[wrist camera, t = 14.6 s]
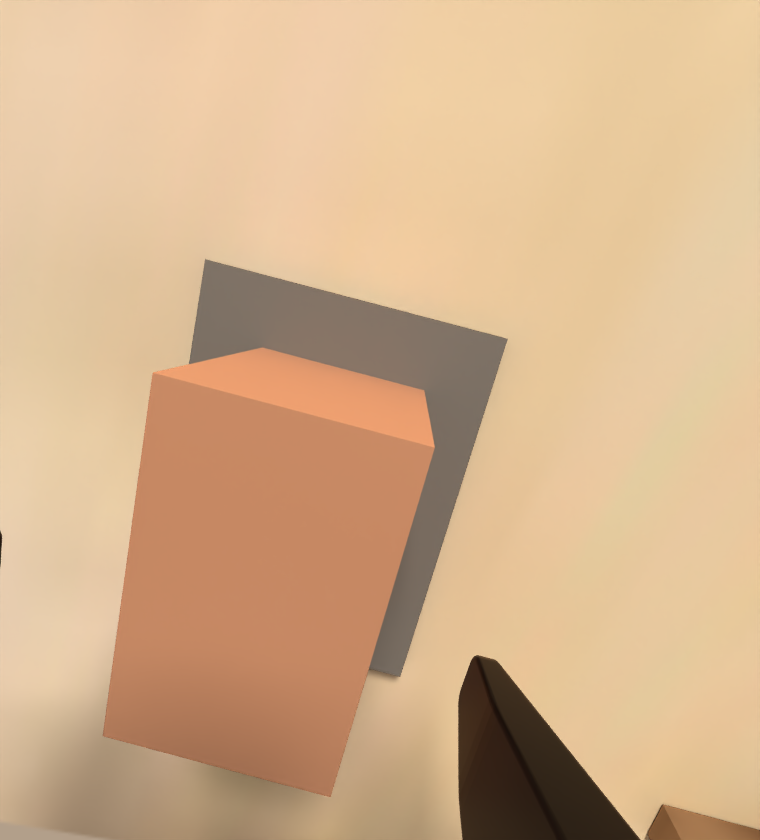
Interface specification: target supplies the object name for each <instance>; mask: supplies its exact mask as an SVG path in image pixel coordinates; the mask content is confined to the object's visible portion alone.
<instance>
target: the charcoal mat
mask: <svg viewBox="0 0 760 840" xmlns="http://www.w3.org/2000/svg"><path fill="white" fill-rule="evenodd" d="M506 342H507V339H506V338H502V337H498V336H494V335H491V334H487V333H483V332H479V331H475V330H472V329H468V328H464V327H460V326H456V325H453V324H449V323H445V322H441V321H437V320H434V319H430V318H426V317H422V316H418V315H415V314H411V313H407V312H403V311H399V310H396V309H392V308H388V307H384V306H380V305H377V304H373V303H369V302H365V301H361V300H358V299H354V298H350V297H346V296H342V295H339V294H335V293H331V292H327V291H323V290H320V289H316V288H312V287H308V286H304V285H300V284H297V283H293V282H289V281H285V280H281V279H278V278H274V277H270V276H266V275H262V274H259V273H255V272H251V271H247V270H243V269H240V268H236V267H232V266H228V265H224V264H221V263H217V262H213V261H209V260H205V264H204V271H203V277H202V284H201V290H200V297H199V303H198V309H197V316H196V322H195V329H194V335H193V342H192V348H191V355H190V361H189V364H193V363H197V362H201V361H206V360H210V359H214V358H219V357H223V356H227V355H232V354H236V353H240V352H245V351H249V350H253V349H258V348H266V349H270V350H274V351H277V352H281V353H285V354H289V355H293V356H296V357H300V358H304V359H308V360H311V361H315V362H319V363H323V364H327V365H330V366H334V367H338V368H342V369H345V370H349V371H353V372H357V373H360V374H364V375H368V376H372V377H376V378H379V379H383V380H387V381H391V382H394V383H398V384H402V385H406V386H410V387H413V388H417V389H421V390H424V392H425V397H426V403H427V408H428V413H429V419H430V424H431V430H432V435H433V440H434V446H435V449H434V452H433V455H432V459H431V462H430V465H429V469H428V472H427V475H426V479H425V482H424V485H423V489H422V492H421V496H420V499H419V502H418V506H417V509H416V512H415V516H414V519H413V522H412V526H411V529H410V532H409V536H408V539H407V542H406V546H405V549H404V552H403V556H402V559H401V562H400V566H399V569H398V573H397V576H396V579H395V583H394V586H393V589H392V593H391V596H390V599H389V603H388V606H387V609H386V613H385V616H384V619H383V623H382V626H381V629H380V633H379V636H378V639H377V643H376V646H375V650H374V653H373V656H372V660H371V663H370V666H369V669H373V670H376V671H380V672H384V673H388V674H391V675H395V676H399V677H400V675H401V672H402V669H403V666H404V663H405V660H406V657H407V653H408V650H409V647H410V644H411V641H412V638H413V635H414V631H415V628H416V625H417V622H418V619H419V616H420V613H421V609H422V606H423V603H424V600H425V597H426V594H427V591H428V587H429V584H430V581H431V578H432V575H433V572H434V569H435V565H436V562H437V559H438V556H439V553H440V550H441V547H442V543H443V540H444V537H445V534H446V531H447V528H448V525H449V521H450V518H451V515H452V512H453V509H454V506H455V503H456V499H457V496H458V493H459V490H460V487H461V484H462V481H463V477H464V474H465V471H466V468H467V465H468V462H469V459H470V455H471V452H472V449H473V446H474V443H475V440H476V437H477V433H478V430H479V427H480V424H481V421H482V418H483V415H484V411H485V408H486V405H487V402H488V399H489V396H490V393H491V389H492V386H493V383H494V380H495V377H496V374H497V371H498V367H499V364H500V361H501V358H502V355H503V352H504V348H505V345H506Z"/></svg>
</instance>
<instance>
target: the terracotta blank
mask: <svg viewBox="0 0 760 840" xmlns="http://www.w3.org/2000/svg"><path fill="white" fill-rule="evenodd" d="M434 449H435V446H434V440H433V435H432V430H431V424H430V419H429V413H428V408H427V403H426V397H425V392H424V390H421V389H417V388H413V387H410V386H406V385H402V384H398V383H394V382H391V381H387V380H383V379H379V378H376V377H372V376H368V375H364V374H360V373H357V372H353V371H349V370H345V369H342V368H338V367H334V366H330V365H327V364H323V363H319V362H315V361H311V360H308V359H304V358H300V357H296V356H293V355H289V354H285V353H281V352H277V351H274V350H270V349H266V348H258V349H253V350H249V351H245V352H240V353H236V354H232V355H227V356H223V357H219V358H214V359H210V360H206V361H201V362H197V363H193V364H188V365H184V366H180V367H175V368H171V369H167V370H162V371H158V372H153V375H152V382H151V390H150V397H149V404H148V411H147V419H146V426H145V433H144V440H143V448H142V455H141V462H140V469H139V477H138V484H137V491H136V499H135V506H134V513H133V520H132V528H131V535H130V542H129V549H128V557H127V564H126V571H125V578H124V586H123V593H122V600H121V608H120V615H119V622H118V629H117V637H116V644H115V651H114V658H113V666H112V673H111V680H110V687H109V695H108V702H107V709H106V716H105V724H104V731H103V736H105V737H108V738H112V739H116V740H120V741H123V742H127V743H131V744H134V745H138V746H142V747H146V748H149V749H153V750H157V751H161V752H164V753H168V754H172V755H175V756H179V757H183V758H187V759H190V760H194V761H198V762H201V763H205V764H209V765H213V766H216V767H220V768H224V769H228V770H231V771H235V772H239V773H242V774H246V775H250V776H254V777H257V778H261V779H265V780H269V781H272V782H276V783H280V784H283V785H287V786H291V787H295V788H298V789H302V790H306V791H309V792H313V793H317V794H321V795H324V796H328V797H331V793H332V790H333V787H334V783H335V780H336V777H337V773H338V770H339V767H340V763H341V760H342V757H343V753H344V750H345V747H346V743H347V740H348V737H349V733H350V730H351V727H352V723H353V720H354V716H355V713H356V710H357V706H358V703H359V700H360V696H361V693H362V690H363V686H364V683H365V680H366V676H367V673H368V670H369V666H370V663H371V660H372V656H373V653H374V650H375V646H376V643H377V639H378V636H379V633H380V629H381V626H382V623H383V619H384V616H385V613H386V609H387V606H388V603H389V599H390V596H391V593H392V589H393V586H394V583H395V579H396V576H397V573H398V569H399V566H400V562H401V559H402V556H403V552H404V549H405V546H406V542H407V539H408V536H409V532H410V529H411V526H412V522H413V519H414V516H415V512H416V509H417V506H418V502H419V499H420V496H421V492H422V489H423V485H424V482H425V479H426V475H427V472H428V469H429V465H430V462H431V459H432V455H433V452H434Z"/></svg>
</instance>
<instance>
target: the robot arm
mask: <svg viewBox="0 0 760 840" xmlns="http://www.w3.org/2000/svg"><path fill="white" fill-rule="evenodd" d="M1 548H2V534H1V532H0V565H1ZM458 779H459V806H460V818H461V828H462V838H463V840H640V839H639V837H638V836H637V835H636V834H635V832H634V831H633V830H632V829H631V827H630V826H629V825H628V824H627V822H626V821H625V820H624V819H623V817H622V816H621V815H620V814H619V812H618V811H617V810H616V809H615V807H614V806H613V805H612V804H611V802H610V801H609V800H608V799H607V797H606V796H605V795H604V794H603V792H602V791H601V790H600V789H599V787H598V786H597V785H596V784H595V782H594V781H593V780H592V779H591V777H590V776H589V775H588V774H587V772H586V771H585V770H584V769H583V767H582V766H581V765H580V764H579V762H578V761H577V760H576V759H575V757H574V756H573V755H572V754H571V752H570V751H569V750H568V749H567V747H566V746H565V745H564V744H563V742H562V741H561V740H560V739H559V738H558V736H557V735H556V734H555V733H554V731H553V730H552V729H551V728H550V726H549V725H548V724H547V723H546V721H545V720H544V719H543V718H542V716H541V715H540V714H539V713H538V711H537V710H536V709H535V708H534V706H533V705H532V704H531V703H530V701H529V700H528V699H527V698H526V696H525V695H524V694H523V693H522V691H521V690H520V689H519V688H518V686H517V685H516V684H515V683H514V681H513V680H512V679H511V678H510V676H509V675H508V674H507V673H506V671H505V670H504V669H503V668H502V666H501V665H500V664H499V663H498V662H497V661H496V660H494V659H490V658H487V657H483V656H479V655H476V656H474V657H473V659H472V660H471V662H470V665H469V668H468V671H467V674H466V676H465V679H464V682H463V685H462V687H461V691H460V695H459V703H458Z"/></svg>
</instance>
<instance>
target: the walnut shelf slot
mask: <svg viewBox="0 0 760 840" xmlns="http://www.w3.org/2000/svg"><path fill="white" fill-rule="evenodd" d="M648 835H649V838H650V840H760V830H757V829H753V828H749V827H745V826H742V825H738V824H734V823H730V822H727V821H723V820H719V819H715V818H712V817H708V816H704V815H700V814H697V813H693V812H689V811H685V810H682V809H678V808H674V807H670V806H667V805H662V807H661V809H660V811H659V813H658V815H657V817H656V819H655V821H654V823H653V824H652V826H651V828H650V830H649V832H648Z"/></svg>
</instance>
